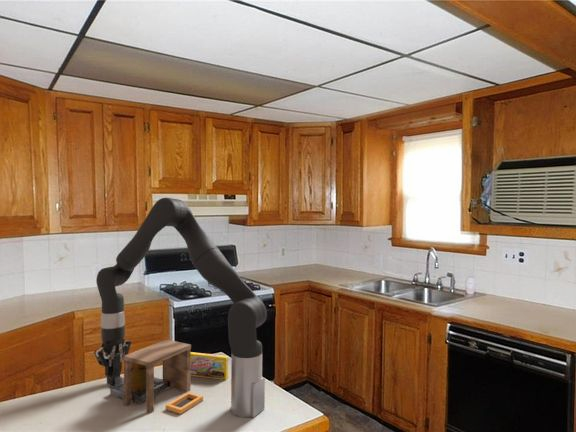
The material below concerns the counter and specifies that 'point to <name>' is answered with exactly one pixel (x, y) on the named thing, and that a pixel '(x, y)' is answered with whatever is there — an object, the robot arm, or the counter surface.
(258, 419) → the counter surface
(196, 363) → the candy box
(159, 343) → the wooden side table
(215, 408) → the counter surface
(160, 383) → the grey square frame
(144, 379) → the condiment
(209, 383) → the counter surface
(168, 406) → the pit trap
